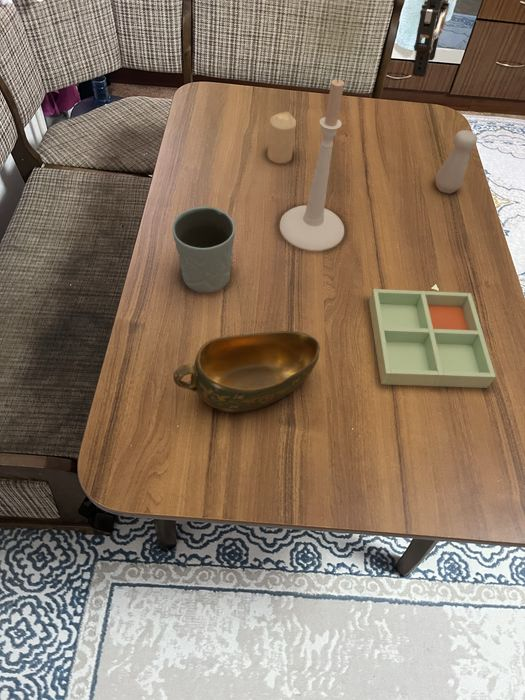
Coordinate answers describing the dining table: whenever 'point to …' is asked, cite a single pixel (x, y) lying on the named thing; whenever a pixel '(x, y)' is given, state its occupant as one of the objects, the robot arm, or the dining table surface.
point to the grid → (429, 339)
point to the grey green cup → (204, 247)
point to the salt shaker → (456, 163)
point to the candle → (281, 137)
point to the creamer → (250, 369)
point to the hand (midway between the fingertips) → (423, 67)
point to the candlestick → (318, 192)
